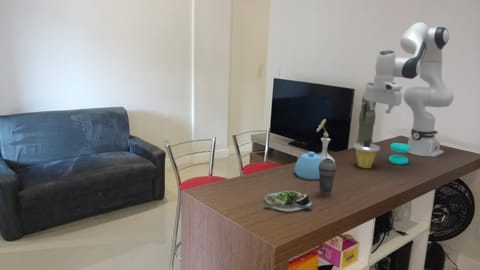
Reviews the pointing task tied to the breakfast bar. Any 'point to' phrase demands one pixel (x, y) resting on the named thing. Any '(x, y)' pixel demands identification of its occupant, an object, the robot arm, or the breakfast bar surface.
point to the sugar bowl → (308, 166)
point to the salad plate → (288, 201)
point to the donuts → (399, 158)
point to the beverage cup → (326, 176)
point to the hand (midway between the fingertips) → (380, 111)
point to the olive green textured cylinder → (366, 121)
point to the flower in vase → (324, 143)
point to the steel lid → (367, 146)
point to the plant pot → (365, 158)
